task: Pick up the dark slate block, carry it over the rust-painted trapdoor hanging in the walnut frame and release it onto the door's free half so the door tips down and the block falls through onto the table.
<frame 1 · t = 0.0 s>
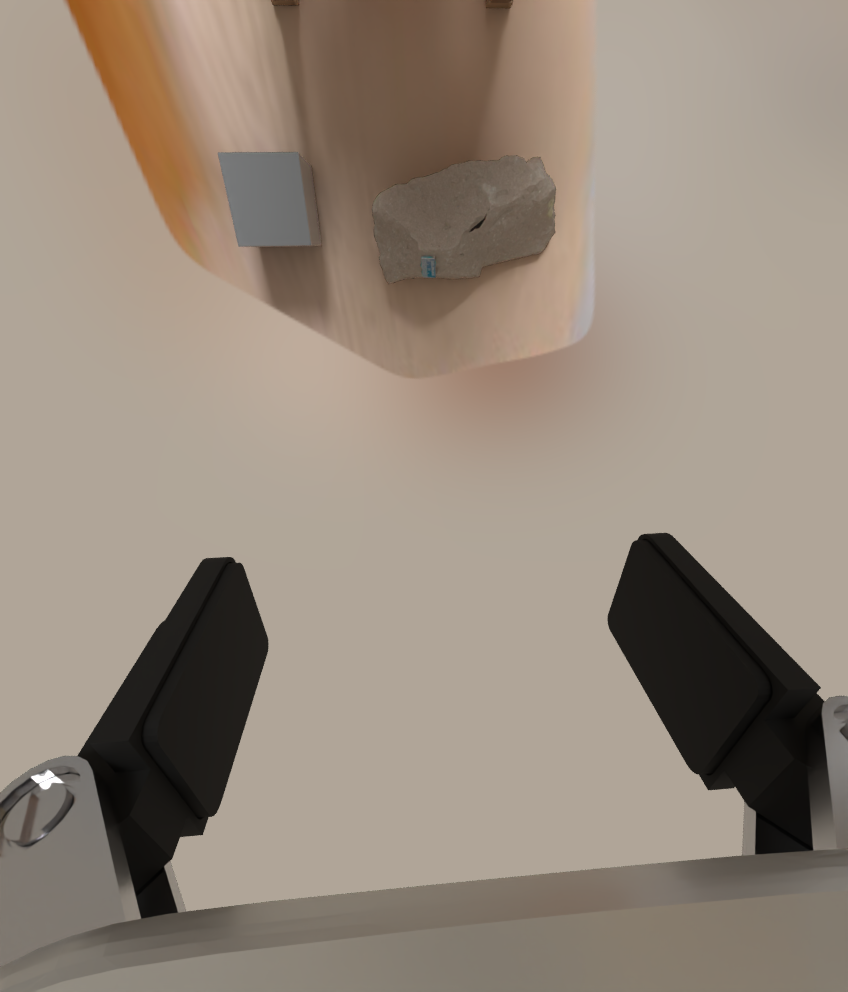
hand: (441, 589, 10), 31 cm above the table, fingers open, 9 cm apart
slate block: (284, 208, 31), on the table
concrete fragment: (463, 228, 32), on the table
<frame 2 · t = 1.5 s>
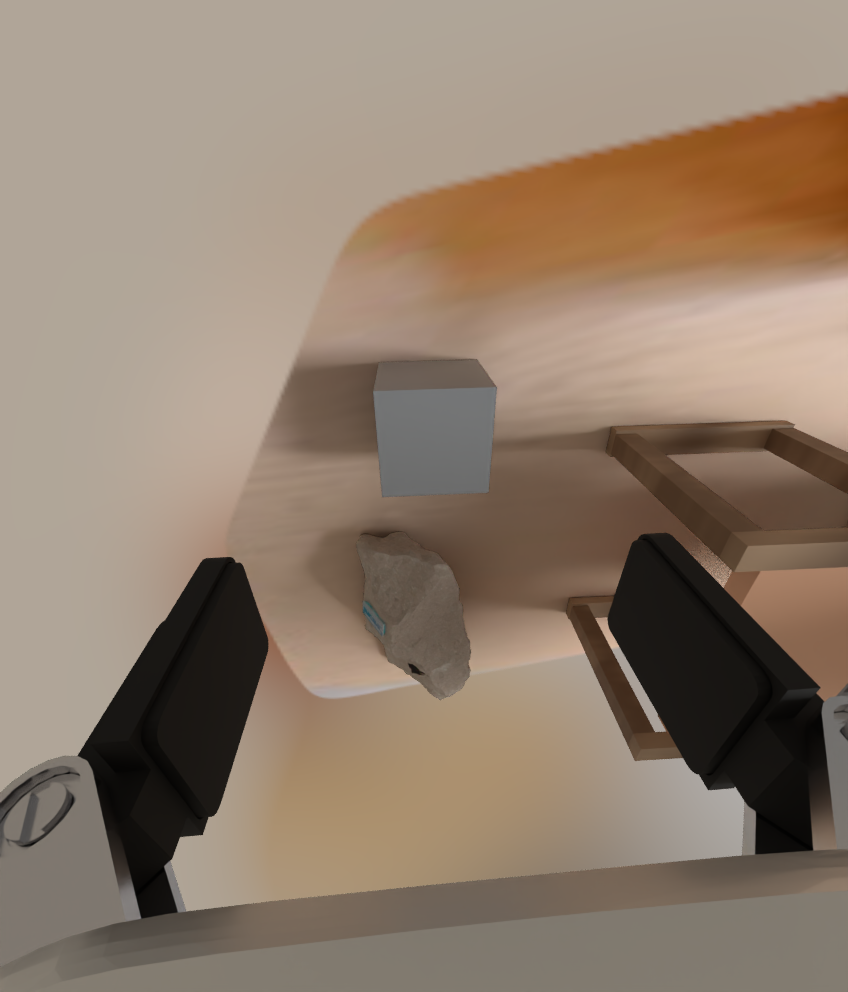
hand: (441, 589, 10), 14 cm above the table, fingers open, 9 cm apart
slate block: (428, 407, 22), on the table
frame: (725, 527, 27), on the table
trapdoor: (844, 648, 19), point 10 cm above the table, hinge at 0.0°
concrete fragment: (413, 595, 29), on the table
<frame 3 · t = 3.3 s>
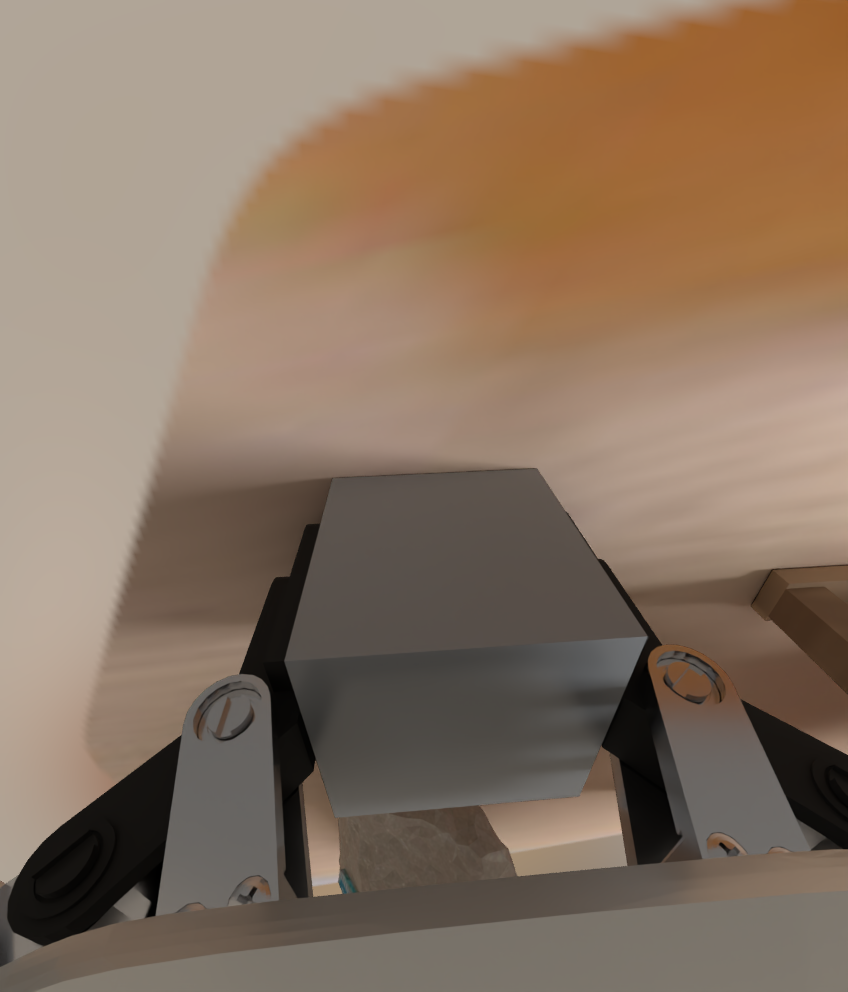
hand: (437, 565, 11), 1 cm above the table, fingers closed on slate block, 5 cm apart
slate block: (436, 552, 11), on the table, touching gripper
concrete fragment: (415, 785, 19), on the table
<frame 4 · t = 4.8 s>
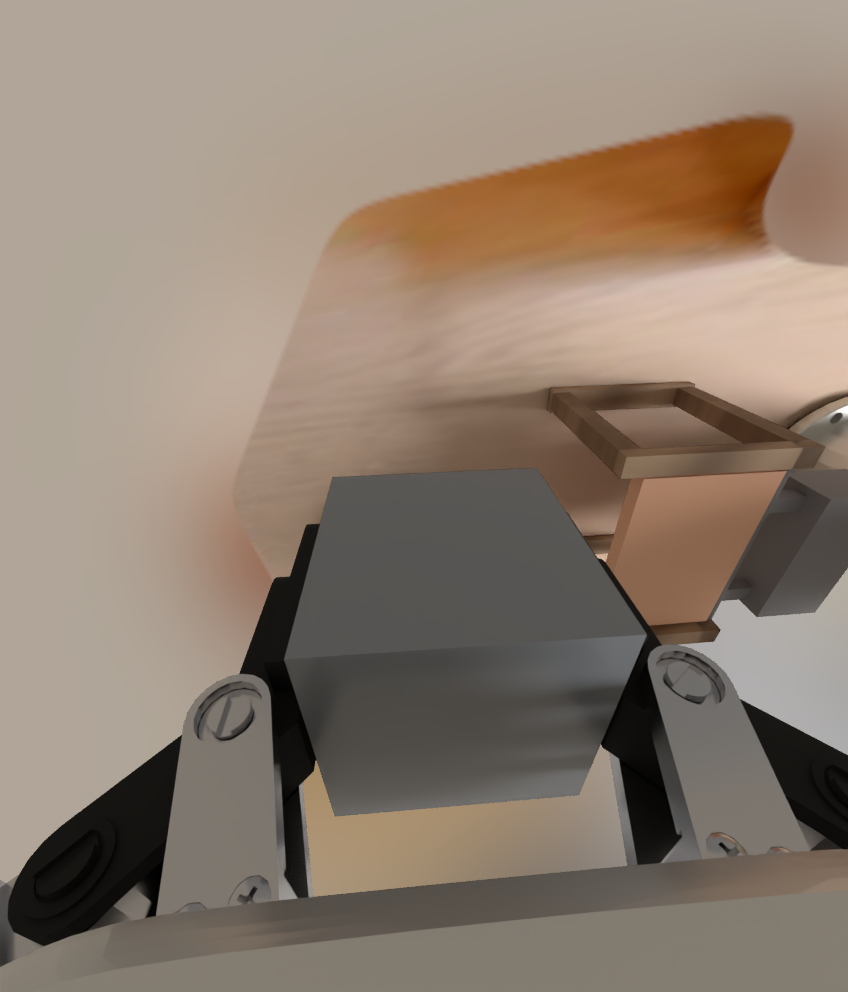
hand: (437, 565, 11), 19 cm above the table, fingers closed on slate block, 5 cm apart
slate block: (435, 551, 11), point 18 cm above the table, touching gripper
frame: (650, 475, 32), on the table
trapdoor: (722, 551, 24), point 10 cm above the table, hinge at 0.0°
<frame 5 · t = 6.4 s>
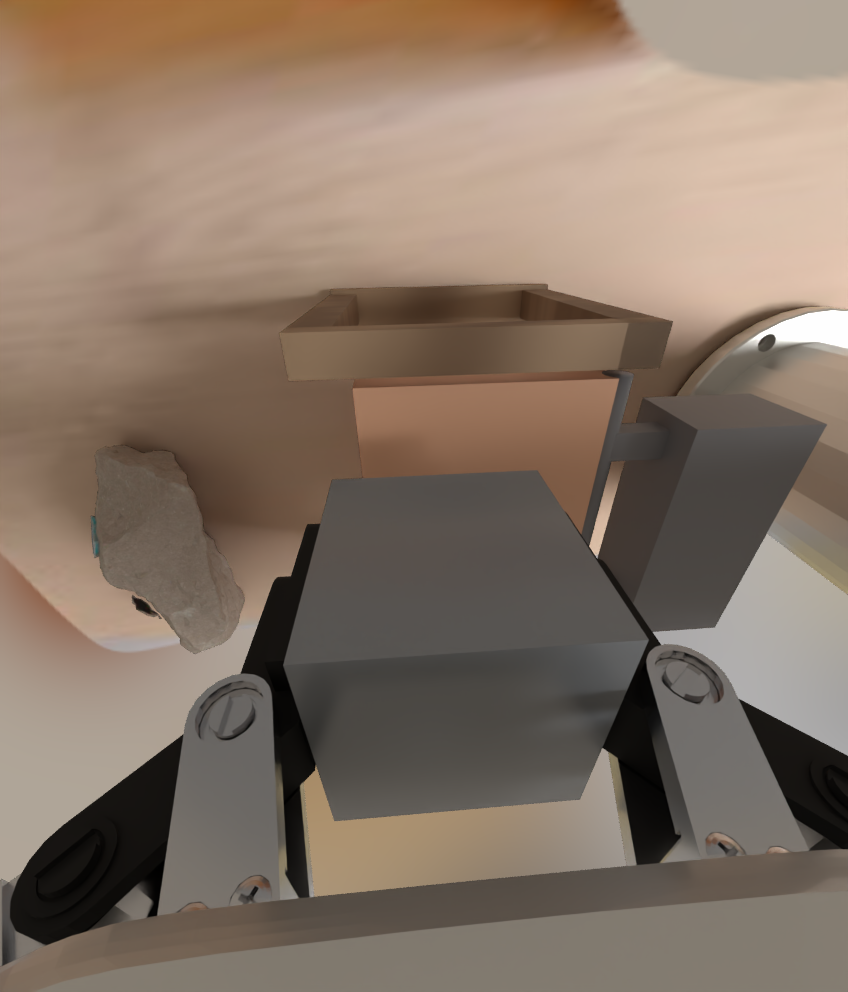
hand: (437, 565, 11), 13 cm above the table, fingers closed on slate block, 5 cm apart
slate block: (436, 554, 11), point 13 cm above the table, touching gripper
frame: (515, 430, 23), on the table
trapdoor: (555, 528, 15), point 10 cm above the table, hinge at 0.0°
concrete fragment: (192, 535, 26), on the table
when the fingers open (13 cm above the table, at t = 6.7 s): slate block drops 10 cm and tips over, point 2 cm above the table.
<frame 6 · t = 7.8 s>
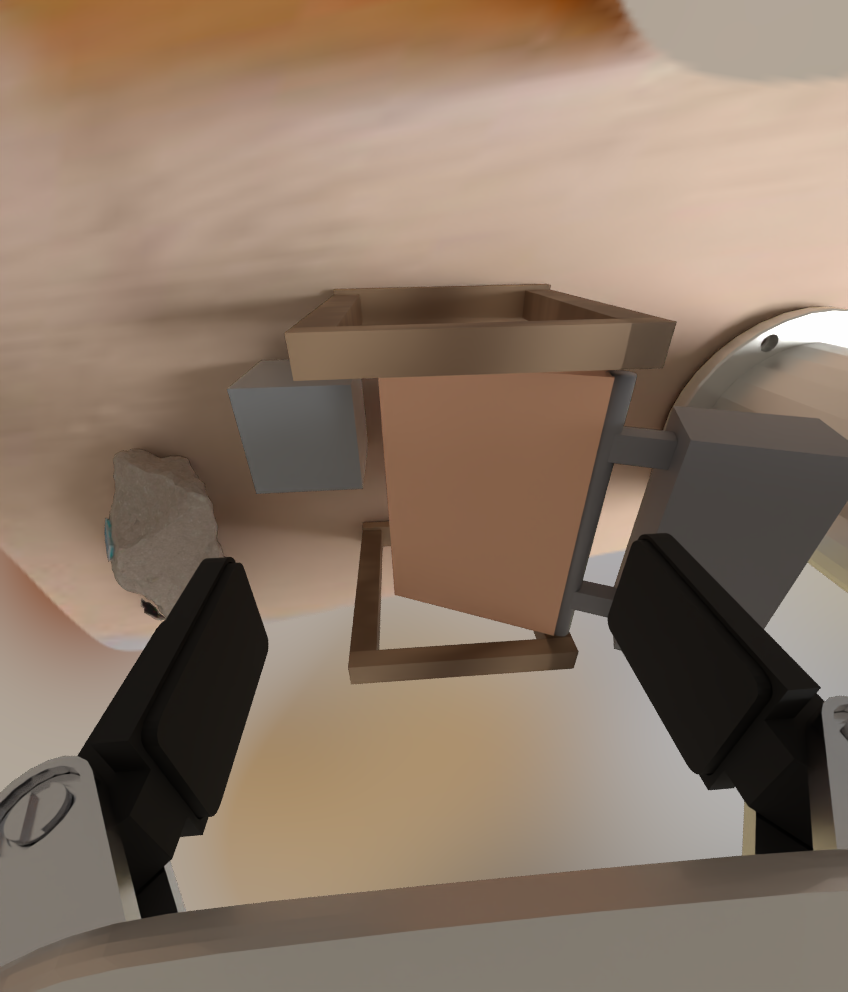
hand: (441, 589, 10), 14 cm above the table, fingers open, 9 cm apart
slate block: (361, 420, 20), point 2 cm above the table, tilted 90°
frame: (517, 430, 23), on the table
trapdoor: (556, 522, 15), point 9 cm above the table, hinge at -23.4°
concrete fragment: (198, 538, 26), on the table
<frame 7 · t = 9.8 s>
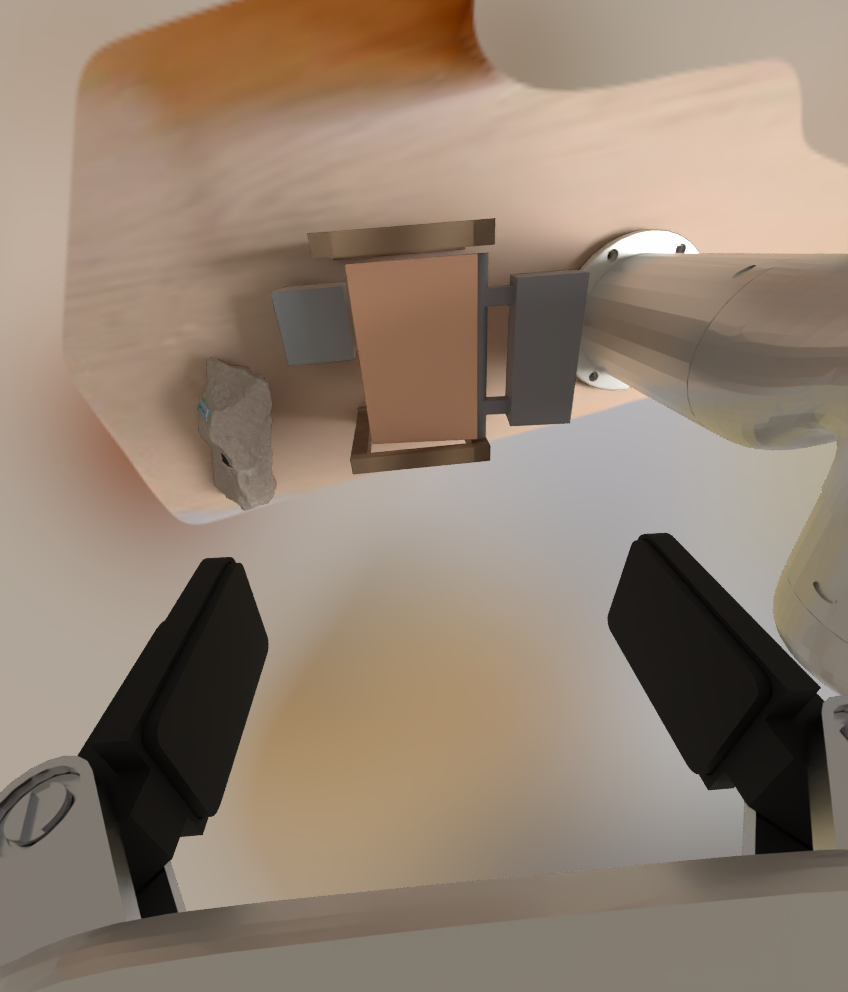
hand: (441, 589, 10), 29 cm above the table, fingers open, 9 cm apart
slate block: (351, 319, 31), point 2 cm above the table, tilted 90°
frame: (457, 330, 34), on the table
trapdoor: (464, 356, 26), point 9 cm above the table, hinge at -7.1°
concrete fragment: (247, 431, 38), on the table
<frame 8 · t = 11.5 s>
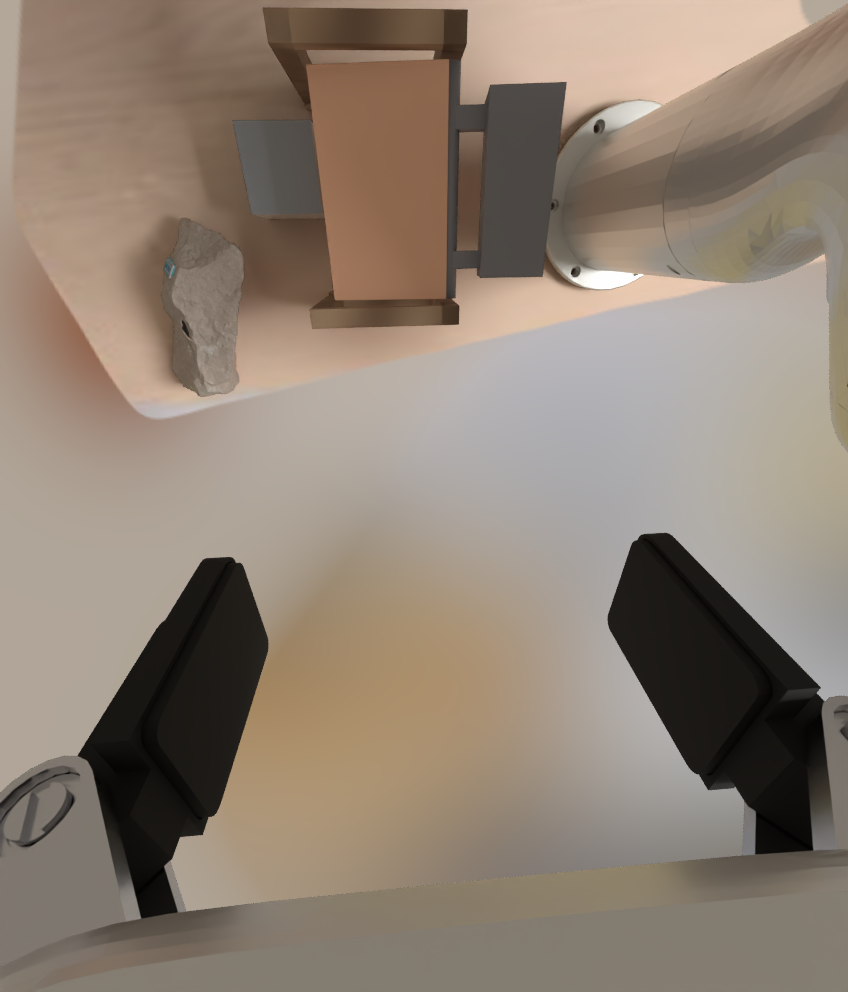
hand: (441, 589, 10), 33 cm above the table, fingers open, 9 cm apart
slate block: (321, 174, 29), point 2 cm above the table, tilted 90°
frame: (436, 208, 33), on the table
trapdoor: (434, 195, 25), point 9 cm above the table, hinge at -6.0°
concrete fragment: (215, 317, 36), on the table
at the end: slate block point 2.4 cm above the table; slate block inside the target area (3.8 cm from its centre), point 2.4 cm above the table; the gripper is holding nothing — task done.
